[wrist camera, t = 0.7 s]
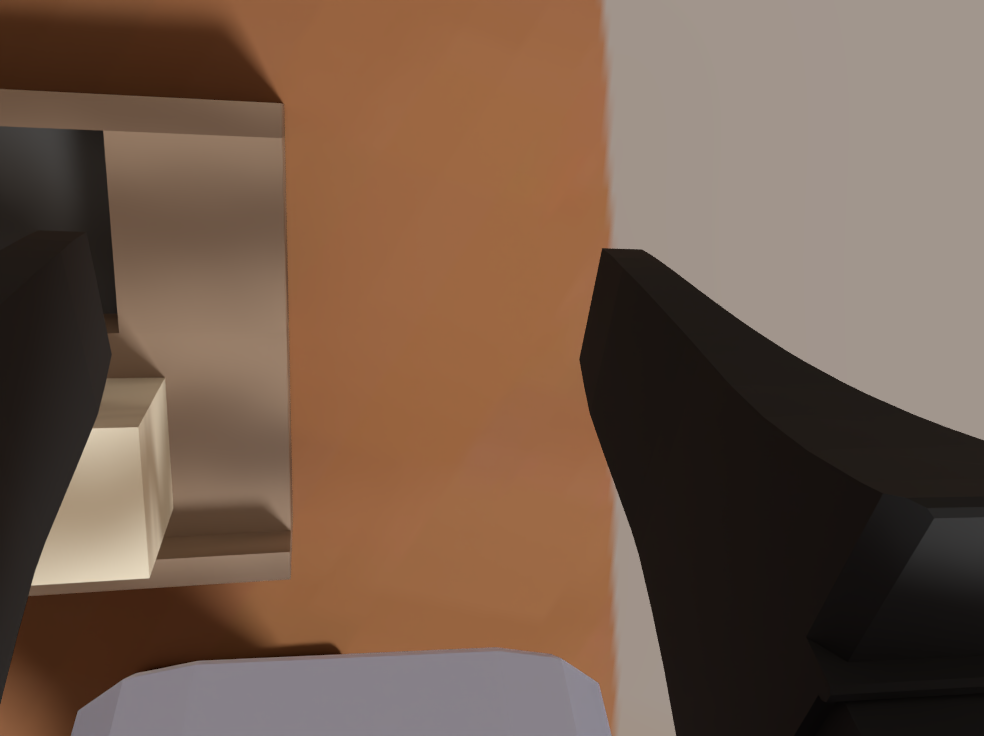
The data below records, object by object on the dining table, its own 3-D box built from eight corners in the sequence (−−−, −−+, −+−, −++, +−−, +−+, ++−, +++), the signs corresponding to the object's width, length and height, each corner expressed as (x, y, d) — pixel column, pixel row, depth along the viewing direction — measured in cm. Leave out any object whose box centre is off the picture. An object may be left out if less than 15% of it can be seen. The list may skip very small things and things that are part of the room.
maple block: (173, 507, 28) (149, 578, 24) (24, 514, 27) (-29, 589, 23) (164, 377, 27) (138, 427, 22) (8, 379, 26) (-51, 432, 21)
